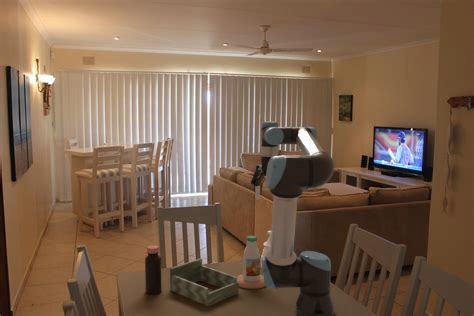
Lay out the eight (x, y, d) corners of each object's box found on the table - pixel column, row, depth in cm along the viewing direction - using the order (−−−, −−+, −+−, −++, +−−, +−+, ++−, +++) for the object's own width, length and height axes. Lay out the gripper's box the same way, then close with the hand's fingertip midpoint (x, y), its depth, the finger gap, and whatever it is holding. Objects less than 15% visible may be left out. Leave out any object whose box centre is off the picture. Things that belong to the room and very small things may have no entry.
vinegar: (148, 296, 193) (148, 250, 191) (143, 290, 199) (142, 246, 196) (163, 292, 196) (163, 247, 194) (158, 287, 202) (157, 243, 200)
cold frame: (238, 293, 196) (238, 270, 195) (208, 306, 183) (208, 282, 182) (200, 279, 212) (200, 258, 211) (170, 290, 199) (170, 268, 198)
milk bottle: (240, 280, 206) (240, 237, 204) (247, 275, 213) (247, 233, 211) (255, 283, 203) (255, 240, 201) (262, 278, 210) (263, 235, 207)
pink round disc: (274, 282, 209) (274, 279, 208) (253, 291, 198) (253, 288, 197) (249, 274, 219) (249, 271, 219) (228, 282, 208) (228, 279, 208)
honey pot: (258, 269, 225) (258, 234, 224) (264, 261, 238) (264, 227, 236) (283, 272, 222) (284, 236, 220) (288, 263, 234) (289, 229, 232)
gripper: (297, 157, 201) (296, 204, 203) (253, 153, 217) (253, 196, 220) (287, 158, 195) (286, 207, 197) (243, 154, 212) (243, 199, 214)
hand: (269, 201), depth 209 cm, fingers open, 13 cm apart
